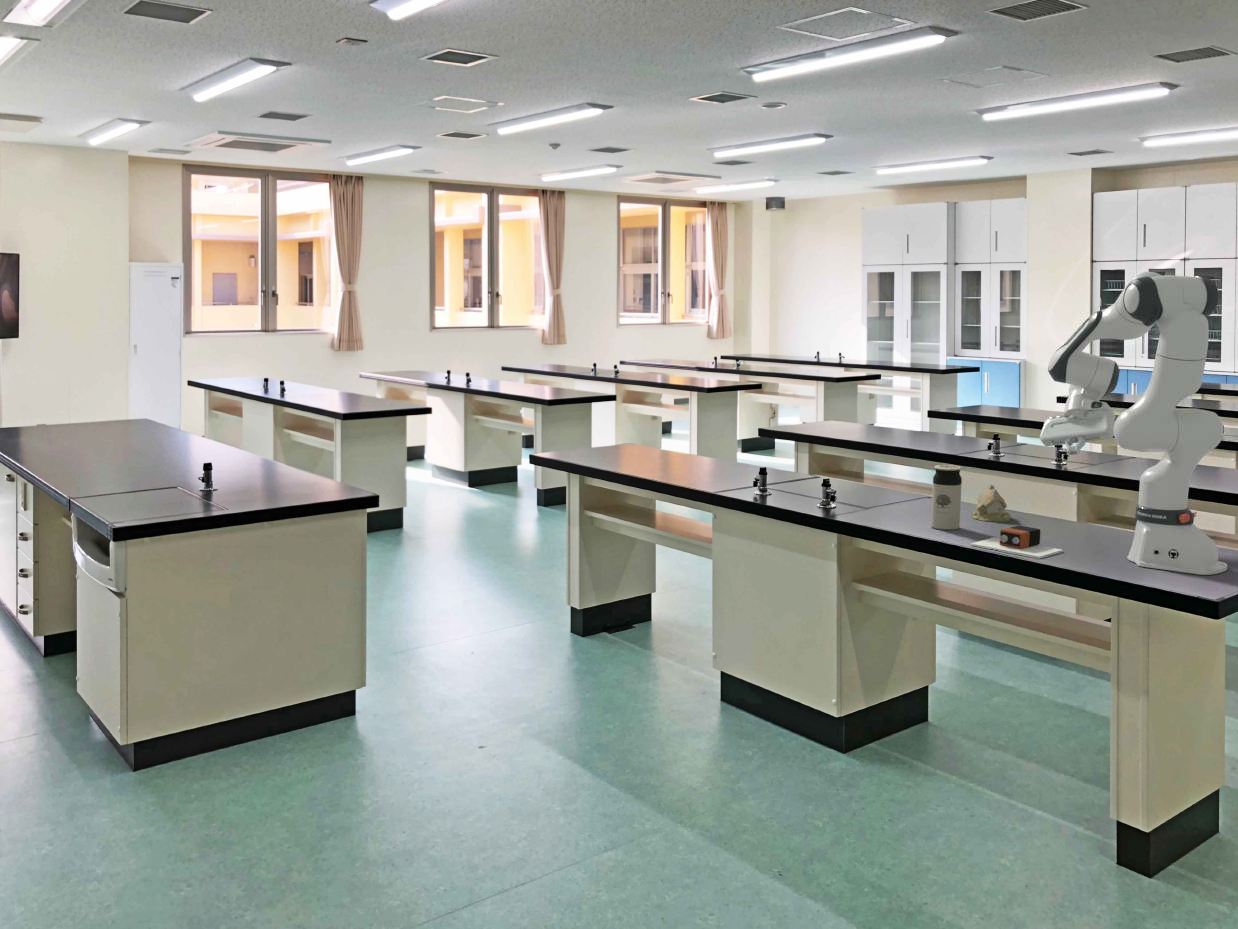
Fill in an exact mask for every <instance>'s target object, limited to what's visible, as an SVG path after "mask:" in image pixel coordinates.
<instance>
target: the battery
mask: <svg viewBox="0 0 1238 929" xmlns="http://www.w3.org/2000/svg"><path fill="white" fill-rule="evenodd" d="M999 538H1000V545H1003V546H1008V547H1013V548H1018V549H1023V548H1027V547H1031V546H1035V545H1039V546H1040V544H1041V529H1040V528H1036V527H1030V526H1024V525H1016V526H1015V525H1014V526H1010V527H1005V528H1001V529H1000V530H999Z"/></svg>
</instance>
